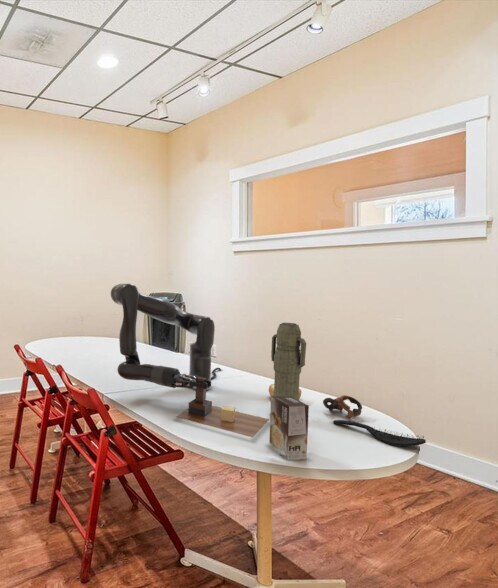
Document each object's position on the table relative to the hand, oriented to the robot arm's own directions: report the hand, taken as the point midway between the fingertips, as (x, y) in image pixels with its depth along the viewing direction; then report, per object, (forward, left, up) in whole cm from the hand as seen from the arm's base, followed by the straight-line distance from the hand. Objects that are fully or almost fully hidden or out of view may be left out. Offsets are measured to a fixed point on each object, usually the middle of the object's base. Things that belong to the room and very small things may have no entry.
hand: (208, 385), depth 146 cm
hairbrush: (-22, +47, -13) cm, 54 cm away
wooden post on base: (0, -3, -11) cm, 11 cm away
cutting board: (0, +5, -12) cm, 14 cm away
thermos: (-20, +21, -13) cm, 32 cm away
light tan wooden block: (0, +7, -11) cm, 13 cm away
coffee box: (+11, +28, -13) cm, 33 cm away
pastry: (-42, +16, -13) cm, 47 cm away
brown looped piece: (-37, +36, -13) cm, 53 cm away
